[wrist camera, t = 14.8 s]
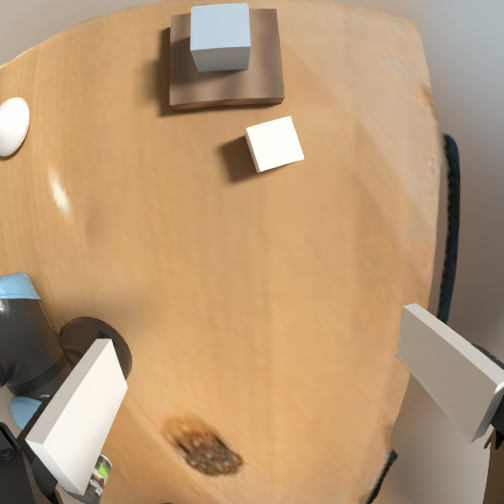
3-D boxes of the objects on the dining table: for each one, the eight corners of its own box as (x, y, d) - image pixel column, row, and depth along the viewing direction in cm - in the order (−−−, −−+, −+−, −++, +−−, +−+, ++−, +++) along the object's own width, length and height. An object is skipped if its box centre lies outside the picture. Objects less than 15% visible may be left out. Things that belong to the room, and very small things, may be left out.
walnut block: (175, 111, 41) (169, 105, 37) (175, 27, 37) (171, 15, 33) (280, 104, 41) (284, 97, 37) (273, 20, 38) (276, 9, 34)
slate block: (198, 72, 36) (190, 50, 28) (198, 33, 34) (191, 6, 26) (248, 69, 36) (250, 46, 28) (246, 30, 34) (248, 3, 27)
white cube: (257, 173, 43) (260, 171, 37) (244, 135, 42) (246, 128, 36) (295, 161, 43) (304, 158, 37) (283, 124, 42) (290, 116, 36)
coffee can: (102, 449, 56) (86, 488, 42) (117, 471, 58) (106, 508, 44) (72, 444, 55) (54, 479, 42) (88, 466, 58) (74, 500, 44)
